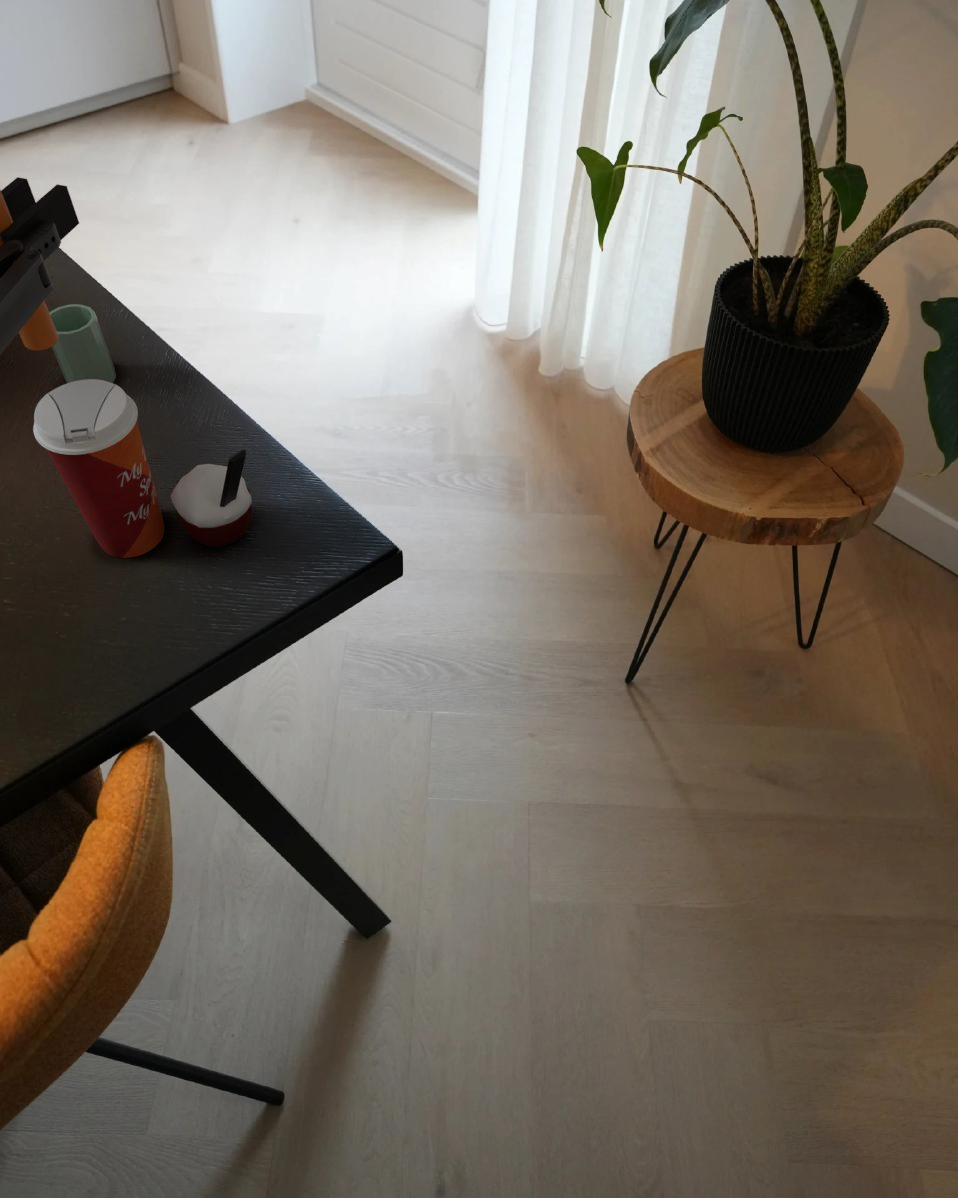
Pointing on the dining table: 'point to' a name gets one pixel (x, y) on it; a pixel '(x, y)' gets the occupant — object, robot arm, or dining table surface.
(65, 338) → the pencil cup
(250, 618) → the dining table surface
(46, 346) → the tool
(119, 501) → the paper cup
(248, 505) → the cocoa
